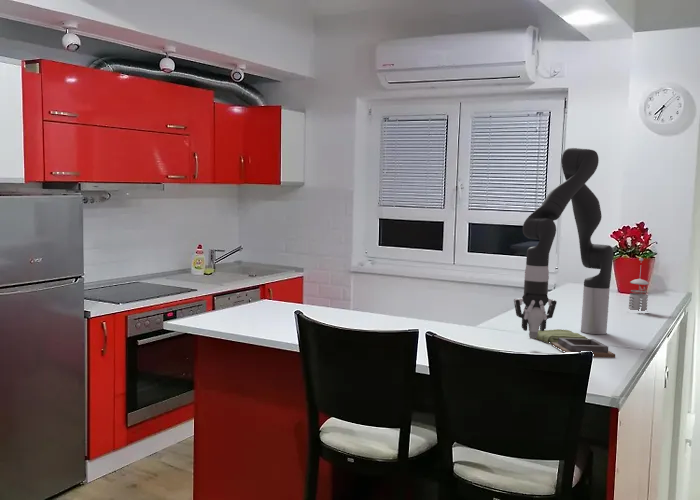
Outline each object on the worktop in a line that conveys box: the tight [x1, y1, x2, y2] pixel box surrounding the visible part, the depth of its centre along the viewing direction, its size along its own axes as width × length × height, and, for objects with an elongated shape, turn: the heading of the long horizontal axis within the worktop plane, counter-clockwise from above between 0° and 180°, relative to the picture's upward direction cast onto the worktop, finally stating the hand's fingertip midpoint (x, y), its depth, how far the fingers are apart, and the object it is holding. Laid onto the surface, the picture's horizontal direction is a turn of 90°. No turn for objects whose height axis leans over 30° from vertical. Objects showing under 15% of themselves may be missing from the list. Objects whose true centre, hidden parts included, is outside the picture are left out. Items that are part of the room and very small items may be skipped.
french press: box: [628, 257, 650, 311], centre depth 316 cm, size 10×12×25 cm
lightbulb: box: [527, 307, 544, 340], centre depth 227 cm, size 6×6×11 cm
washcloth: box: [534, 328, 589, 344], centre depth 245 cm, size 13×18×3 cm
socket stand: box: [550, 338, 616, 358], centre depth 226 cm, size 16×15×3 cm
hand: (533, 330), depth 227 cm, fingers closed on lightbulb, 5 cm apart
